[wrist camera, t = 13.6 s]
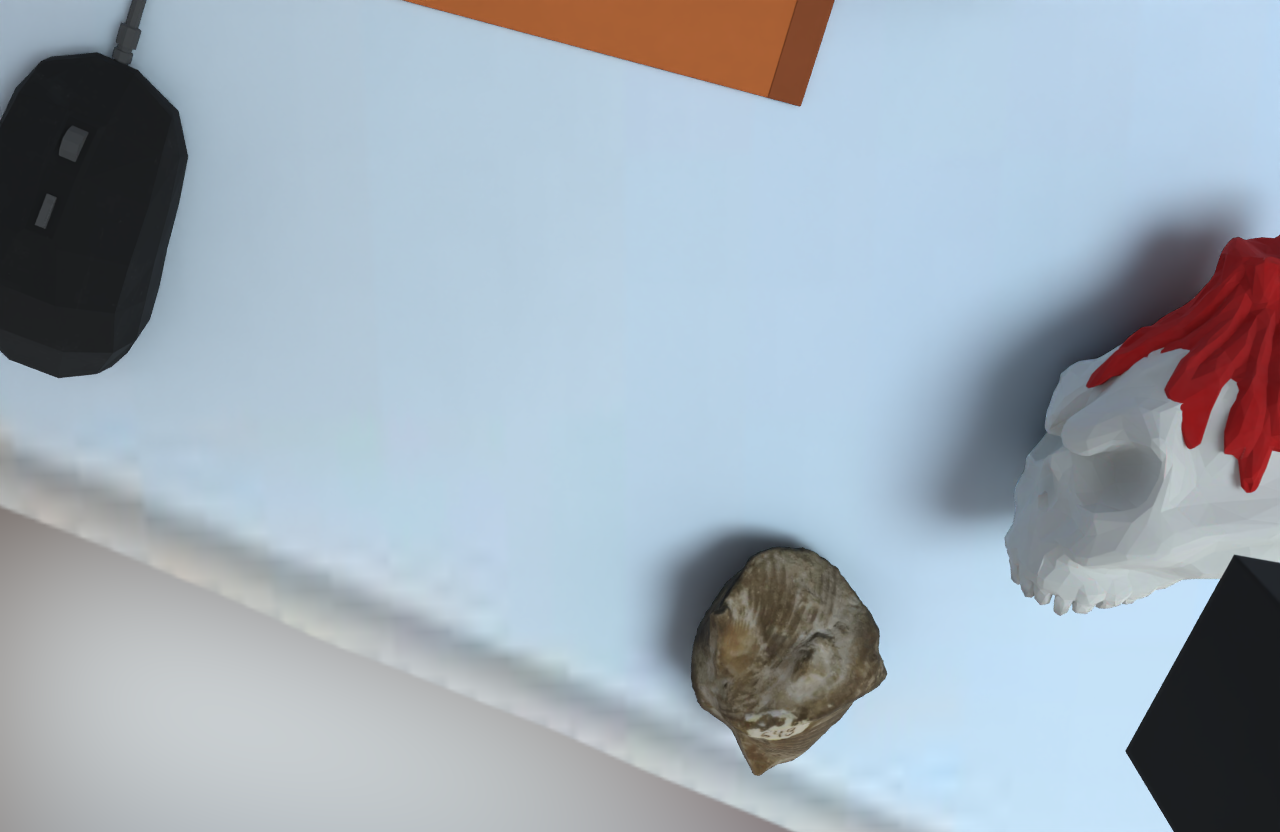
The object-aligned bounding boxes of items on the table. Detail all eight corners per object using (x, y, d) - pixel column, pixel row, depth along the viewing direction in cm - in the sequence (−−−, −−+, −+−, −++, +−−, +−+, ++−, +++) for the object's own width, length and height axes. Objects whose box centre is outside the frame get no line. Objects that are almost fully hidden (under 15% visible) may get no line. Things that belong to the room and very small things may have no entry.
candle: (964, 535, 46) (1075, 171, 41) (1217, 574, 47) (1353, 224, 43) (1051, 650, 38) (1204, 208, 33) (1357, 694, 39) (1546, 273, 34)
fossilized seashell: (674, 560, 44) (660, 727, 50) (781, 672, 39) (752, 840, 45) (820, 498, 47) (792, 660, 53) (934, 594, 43) (889, 759, 49)
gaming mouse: (245, 16, 37) (208, 32, 33) (130, 389, 42) (87, 438, 39) (50, -73, 35) (-12, -66, 32) (-42, 325, 41) (-102, 369, 37)
